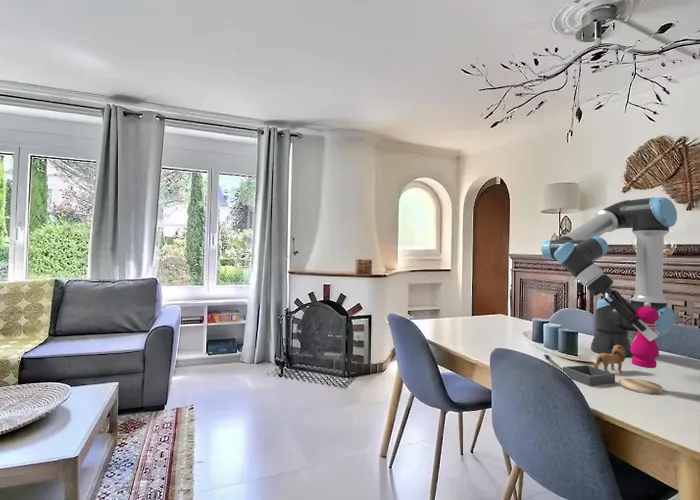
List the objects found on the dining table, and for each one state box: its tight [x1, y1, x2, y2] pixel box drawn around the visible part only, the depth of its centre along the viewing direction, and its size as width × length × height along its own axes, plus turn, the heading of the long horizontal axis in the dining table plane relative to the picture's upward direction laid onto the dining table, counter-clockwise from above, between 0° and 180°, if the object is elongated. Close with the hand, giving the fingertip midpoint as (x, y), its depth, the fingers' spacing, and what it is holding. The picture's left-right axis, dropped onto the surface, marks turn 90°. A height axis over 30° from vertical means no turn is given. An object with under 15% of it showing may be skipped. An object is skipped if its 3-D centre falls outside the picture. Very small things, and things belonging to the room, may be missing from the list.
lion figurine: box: [593, 345, 626, 373], centre depth 141 cm, size 15×5×9 cm, turn 116°
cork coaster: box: [618, 377, 664, 395], centre depth 124 cm, size 11×11×1 cm
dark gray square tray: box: [562, 364, 616, 387], centre depth 131 cm, size 11×11×3 cm
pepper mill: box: [630, 302, 660, 369], centre depth 123 cm, size 7×7×20 cm
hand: (655, 337), depth 121 cm, fingers closed on pepper mill, 5 cm apart
